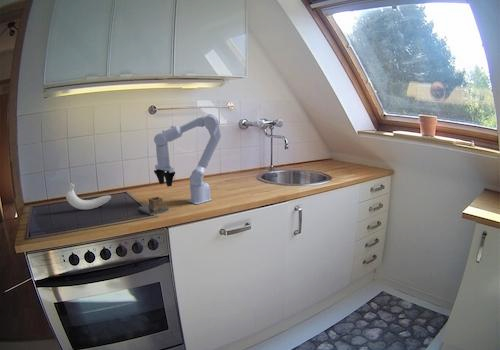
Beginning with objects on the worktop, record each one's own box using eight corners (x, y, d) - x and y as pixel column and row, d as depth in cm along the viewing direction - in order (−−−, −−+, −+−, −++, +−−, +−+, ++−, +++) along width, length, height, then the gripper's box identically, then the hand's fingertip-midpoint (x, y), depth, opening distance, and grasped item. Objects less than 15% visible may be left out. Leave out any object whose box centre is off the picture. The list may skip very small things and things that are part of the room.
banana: (112, 206, 160) (108, 177, 157) (69, 214, 151) (64, 184, 147) (110, 203, 164) (107, 175, 161) (68, 211, 155) (63, 182, 151)
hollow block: (158, 206, 154) (157, 196, 153) (163, 208, 150) (162, 198, 149) (149, 209, 151) (148, 198, 150) (154, 211, 147) (153, 200, 146)
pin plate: (156, 205, 160) (155, 196, 159) (168, 210, 152) (167, 201, 151) (138, 209, 154) (137, 200, 153) (150, 215, 146) (149, 206, 145)
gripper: (148, 157, 160) (151, 183, 164) (163, 160, 150) (165, 189, 153) (161, 155, 165) (163, 181, 168) (176, 158, 155) (178, 186, 158)
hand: (165, 184), depth 161 cm, fingers open, 7 cm apart
